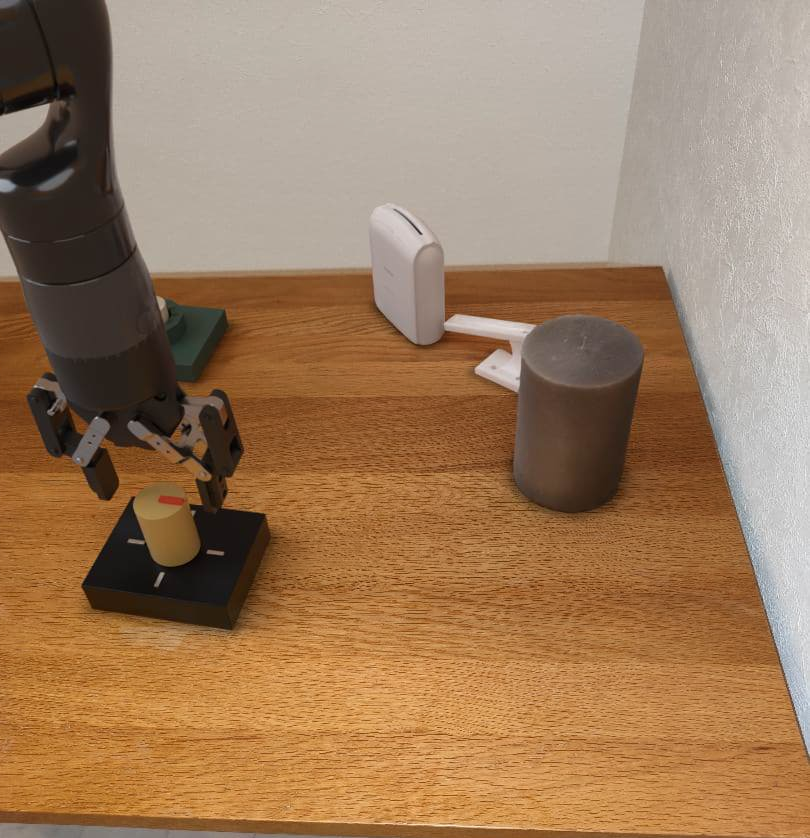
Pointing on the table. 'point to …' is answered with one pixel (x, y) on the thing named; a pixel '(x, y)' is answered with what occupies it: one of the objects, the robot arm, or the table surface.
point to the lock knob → (167, 523)
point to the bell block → (193, 337)
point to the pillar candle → (575, 410)
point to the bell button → (163, 309)
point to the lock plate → (181, 570)
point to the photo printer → (408, 273)
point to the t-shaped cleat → (499, 363)
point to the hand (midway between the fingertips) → (161, 499)
